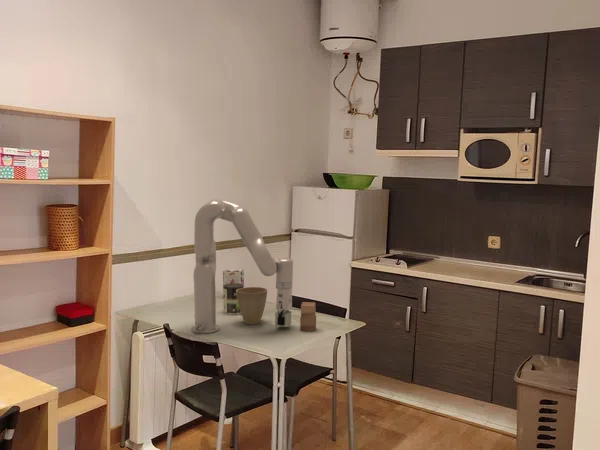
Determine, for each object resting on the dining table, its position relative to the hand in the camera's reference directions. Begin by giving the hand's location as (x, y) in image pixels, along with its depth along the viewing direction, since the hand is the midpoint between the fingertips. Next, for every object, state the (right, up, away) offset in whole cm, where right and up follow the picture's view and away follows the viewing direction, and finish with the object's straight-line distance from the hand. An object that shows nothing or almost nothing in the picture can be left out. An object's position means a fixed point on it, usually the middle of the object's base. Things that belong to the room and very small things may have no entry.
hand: (283, 322), depth 275 cm
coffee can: (-26, 0, +30) cm, 40 cm away
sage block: (0, -1, 0) cm, 1 cm away
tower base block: (+12, -3, -2) cm, 12 cm away
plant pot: (-15, -2, +10) cm, 18 cm away
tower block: (+12, +3, -2) cm, 12 cm away
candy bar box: (-30, +4, +62) cm, 68 cm away
